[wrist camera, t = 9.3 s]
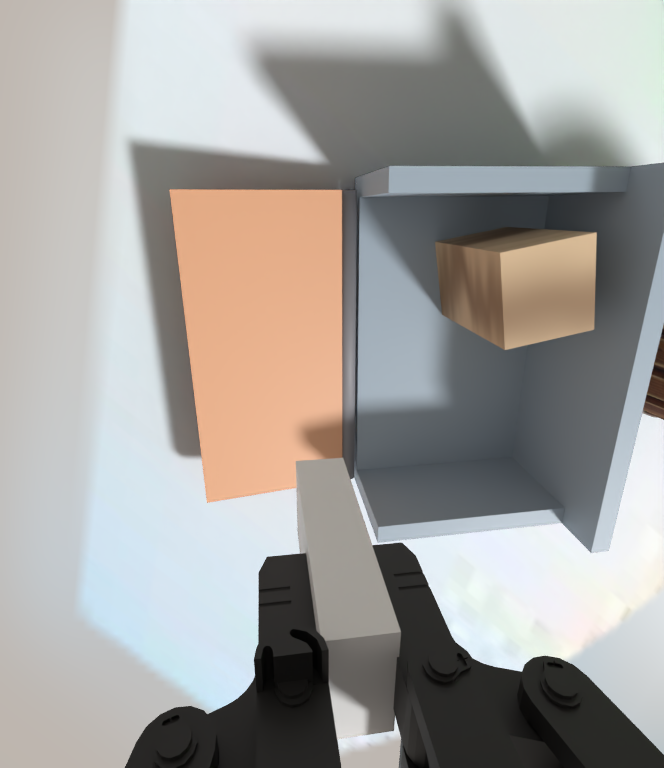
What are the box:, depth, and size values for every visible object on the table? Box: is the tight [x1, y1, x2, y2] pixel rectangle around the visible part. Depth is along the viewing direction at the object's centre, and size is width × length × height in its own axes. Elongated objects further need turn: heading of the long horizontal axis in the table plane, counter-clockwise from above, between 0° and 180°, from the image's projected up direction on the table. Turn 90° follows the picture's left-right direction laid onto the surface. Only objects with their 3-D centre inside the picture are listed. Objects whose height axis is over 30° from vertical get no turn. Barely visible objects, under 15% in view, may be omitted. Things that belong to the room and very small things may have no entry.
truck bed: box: [354, 163, 664, 553], centre depth 30 cm, size 22×14×12 cm, turn 0°
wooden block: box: [435, 227, 597, 350], centre depth 28 cm, size 5×5×9 cm
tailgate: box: [169, 189, 357, 503], centre depth 31 cm, size 20×1×11 cm
